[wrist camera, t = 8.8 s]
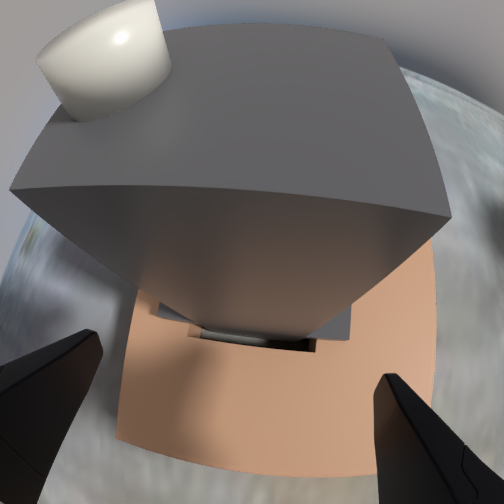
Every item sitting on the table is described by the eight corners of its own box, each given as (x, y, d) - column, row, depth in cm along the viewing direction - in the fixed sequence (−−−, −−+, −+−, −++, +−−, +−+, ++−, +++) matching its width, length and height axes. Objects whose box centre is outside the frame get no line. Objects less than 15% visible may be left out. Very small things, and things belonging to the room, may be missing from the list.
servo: (336, 285, 18) (492, 32, 2) (332, 345, 17) (607, 204, 1) (190, 269, 19) (33, 33, 3) (179, 326, 18) (-73, 163, 2)
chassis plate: (398, 455, 13) (418, 467, 10) (136, 429, 15) (115, 438, 12) (408, 217, 20) (424, 197, 17) (182, 194, 22) (172, 171, 19)
